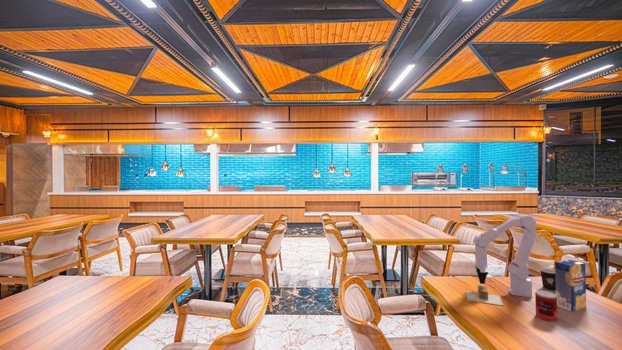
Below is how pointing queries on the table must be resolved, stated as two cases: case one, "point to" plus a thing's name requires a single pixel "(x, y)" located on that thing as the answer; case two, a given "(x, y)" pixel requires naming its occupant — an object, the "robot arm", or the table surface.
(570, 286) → the blue cardboard box
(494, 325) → the table surface
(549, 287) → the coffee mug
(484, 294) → the walnut block
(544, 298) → the canned food
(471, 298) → the mat
